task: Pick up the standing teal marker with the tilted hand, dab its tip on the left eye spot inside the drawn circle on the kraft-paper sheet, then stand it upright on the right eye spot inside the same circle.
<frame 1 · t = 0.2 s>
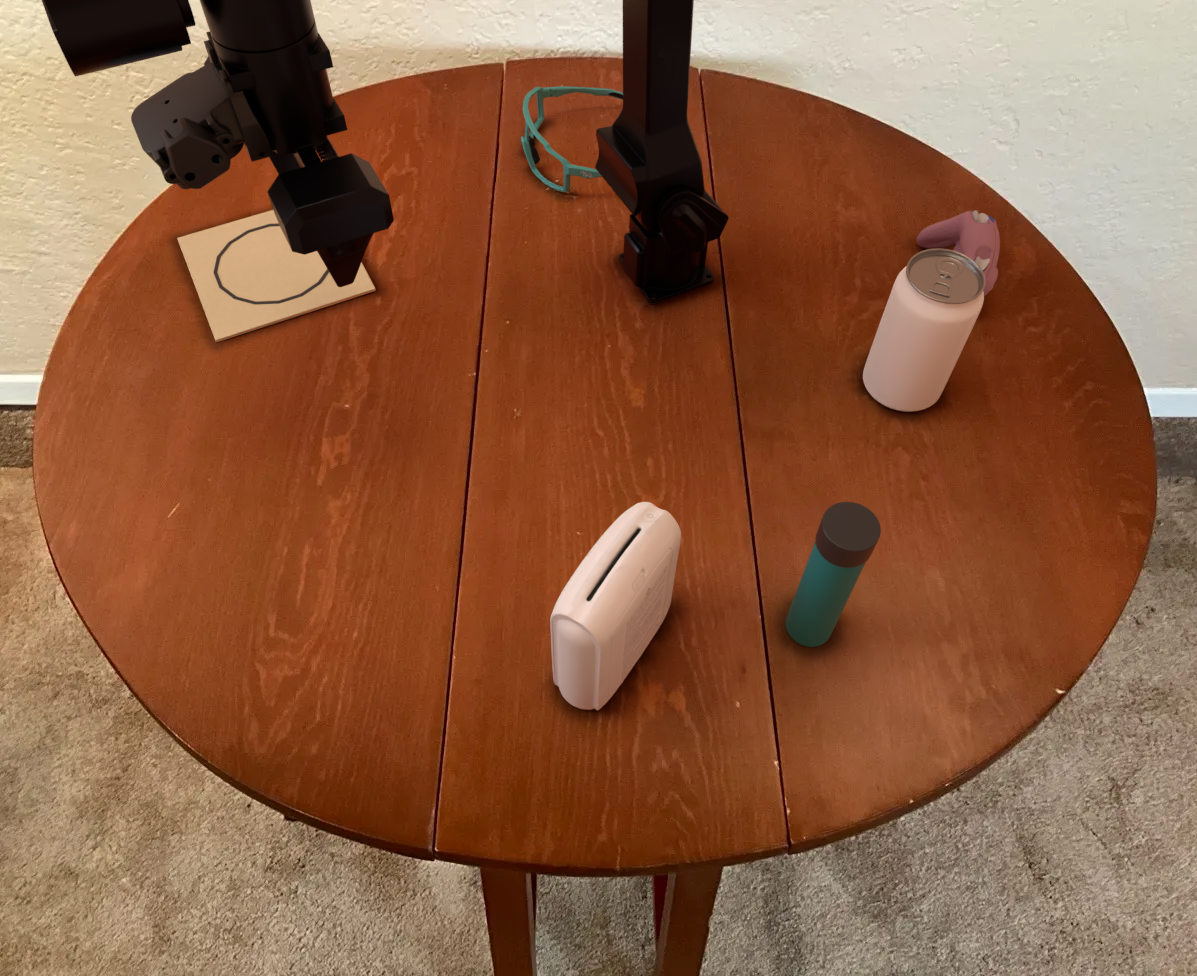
hand: (323, 242, 67), 15 cm above the table, tool pointing down, fingers open, 9 cm apart
marker: (808, 625, 67), on the table
sunglasses: (595, 153, 96), on the table
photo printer: (613, 647, 66), on the table
video game controller: (946, 283, 86), on the table
can: (900, 385, 79), on the table
sketch sheet: (275, 265, 86), on the table
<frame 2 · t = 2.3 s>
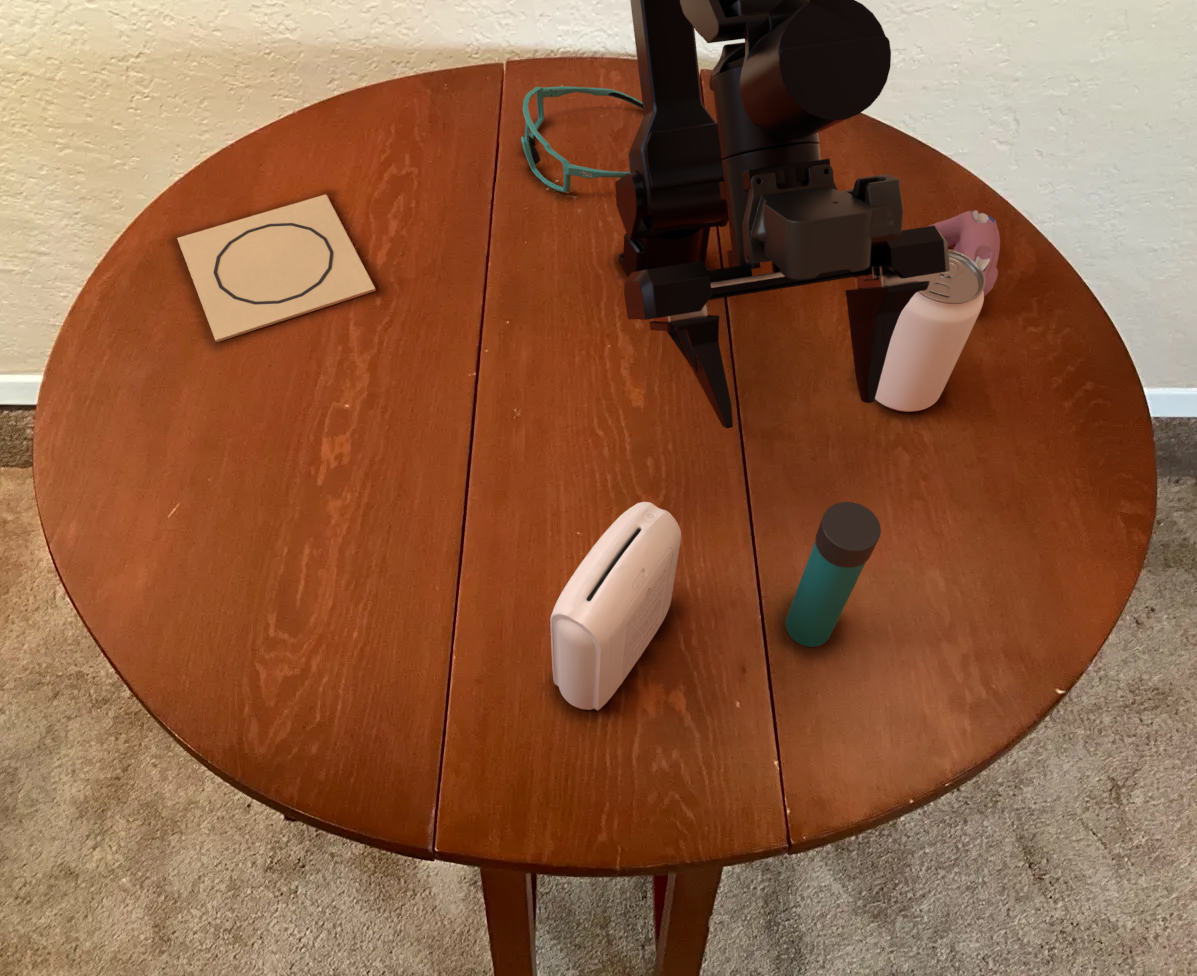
hand: (798, 414, 60), 13 cm above the table, tool tilted 45°, fingers open, 9 cm apart
nothing on the table moved.
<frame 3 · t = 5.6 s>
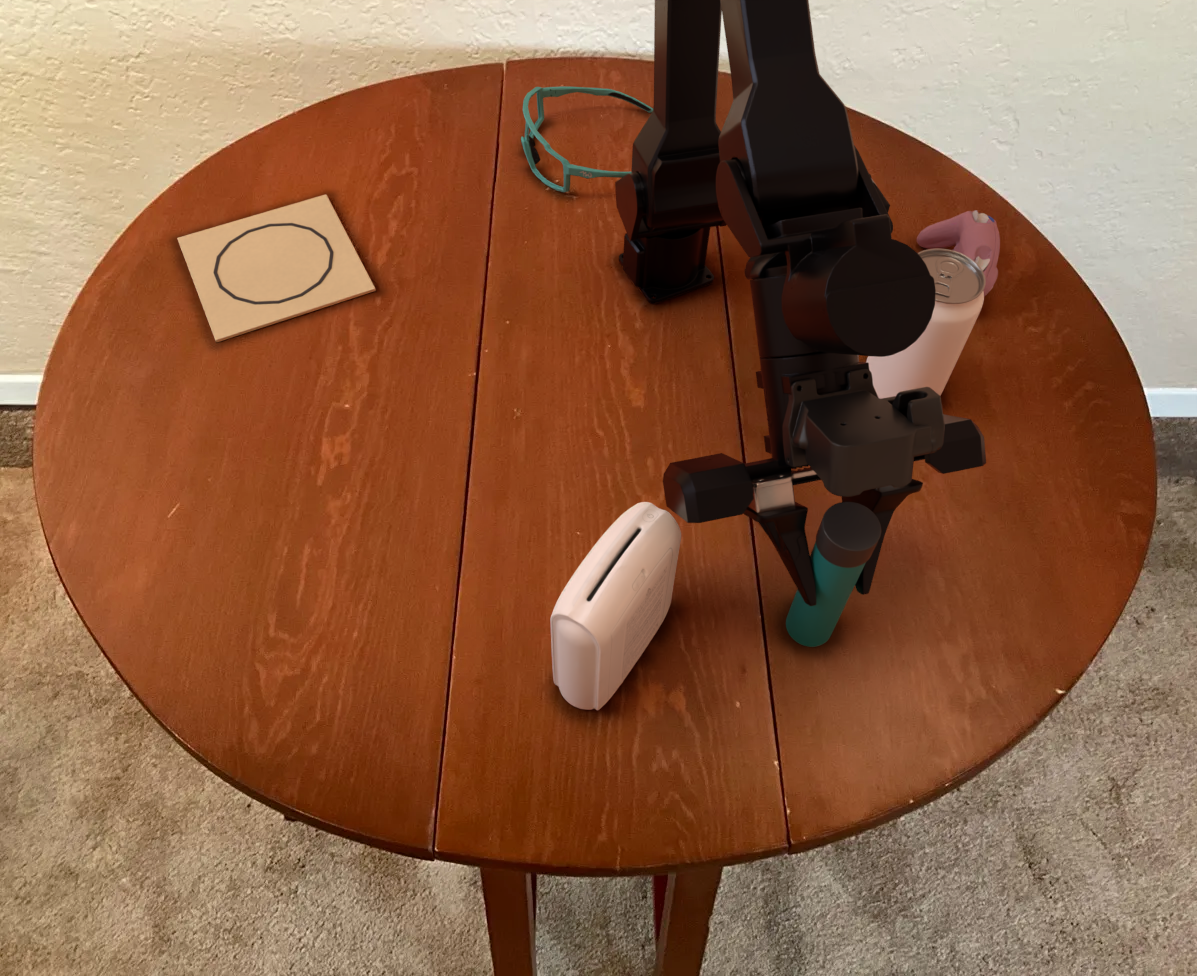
hand: (836, 598, 60), 7 cm above the table, tool tilted 45°, fingers closed on marker, 3 cm apart
marker: (808, 625, 67), on the table, touching gripper
everything else where it was.
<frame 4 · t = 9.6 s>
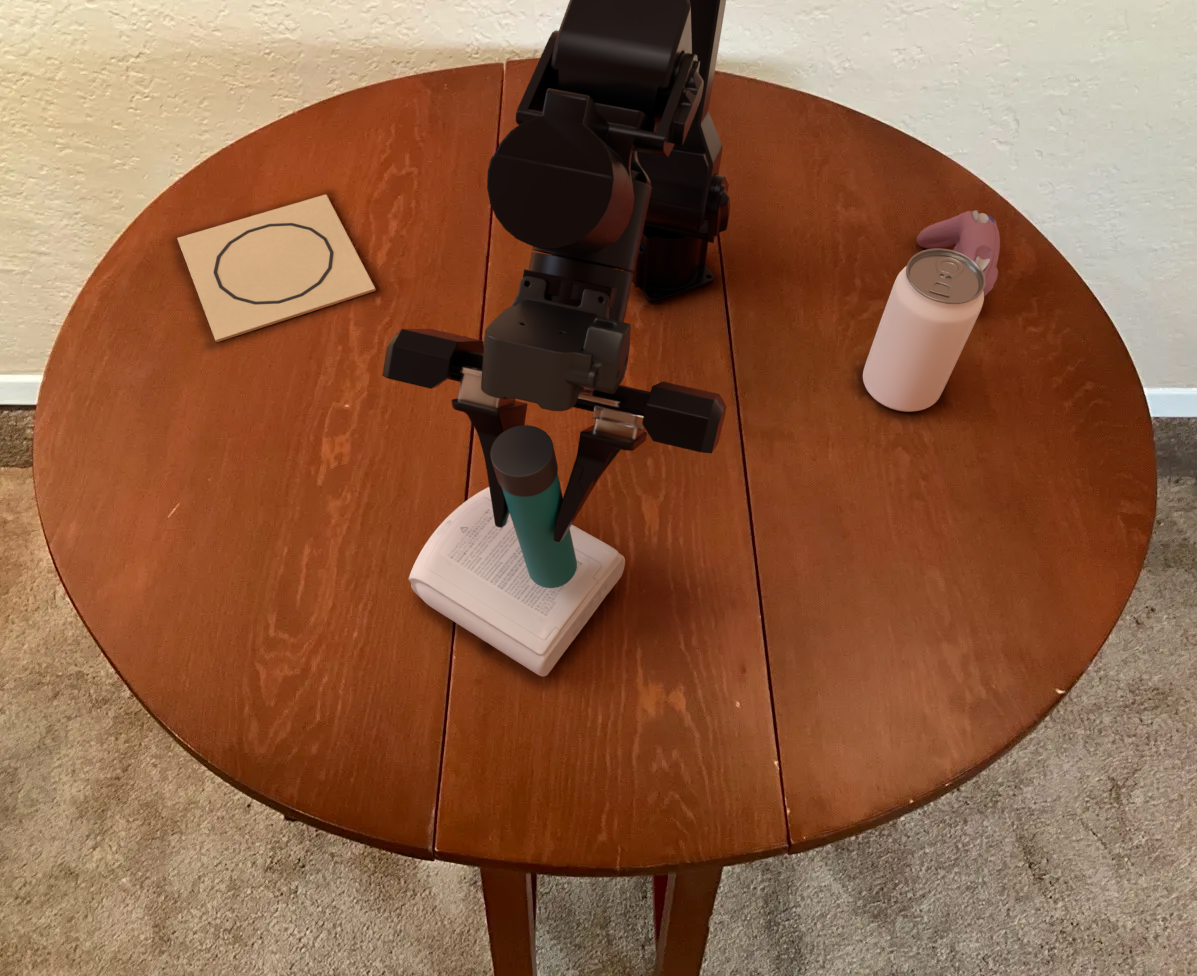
hand: (528, 533, 56), 13 cm above the table, tool tilted 45°, fingers closed on marker, 3 cm apart
marker: (552, 566, 62), point 6 cm above the table, tilted 6°, touching gripper
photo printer: (589, 617, 64), point 2 cm above the table
everything else where it was.
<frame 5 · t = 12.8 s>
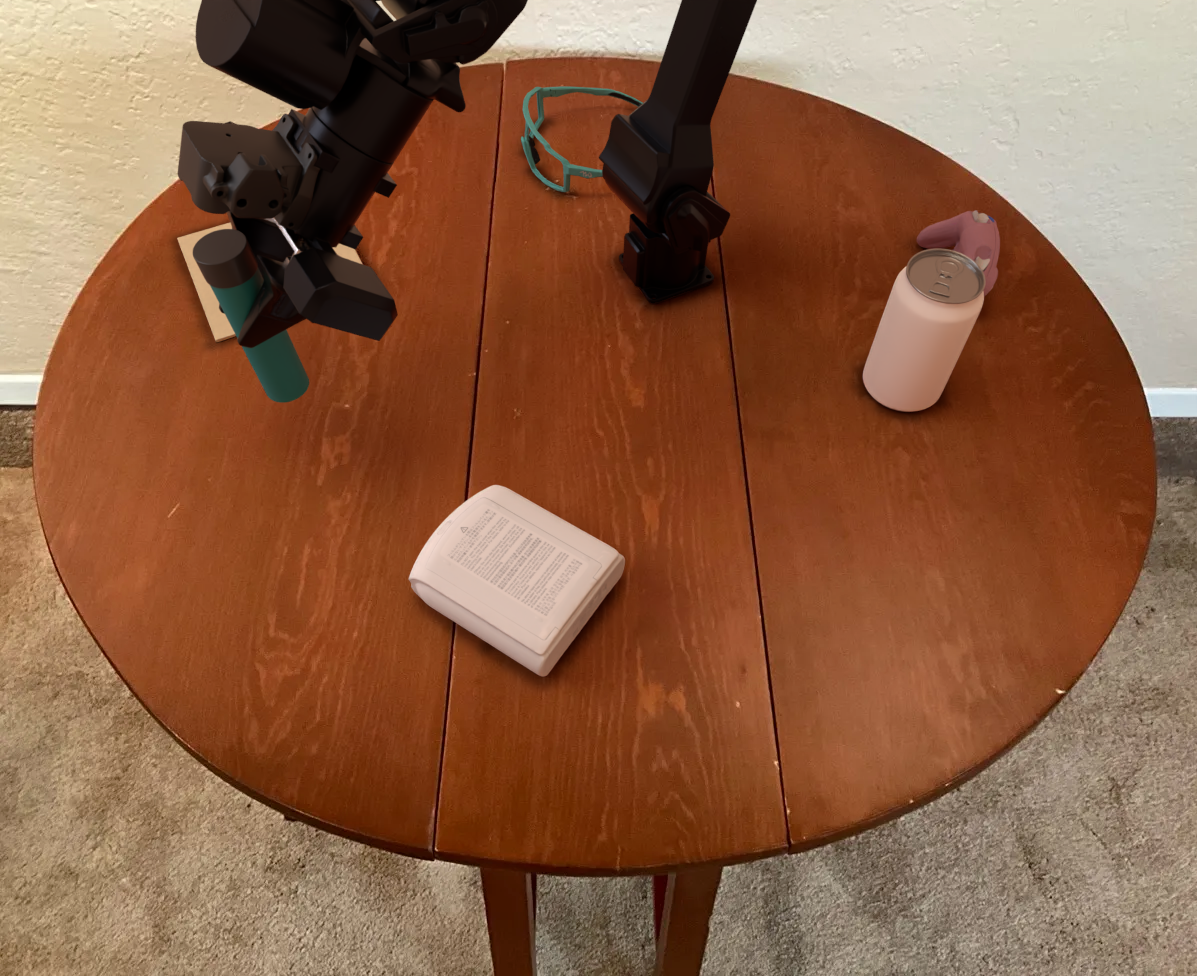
hand: (234, 328, 65), 12 cm above the table, tool tilted 45°, fingers closed on marker, 3 cm apart
marker: (287, 386, 71), point 6 cm above the table, touching gripper
everything else where it was.
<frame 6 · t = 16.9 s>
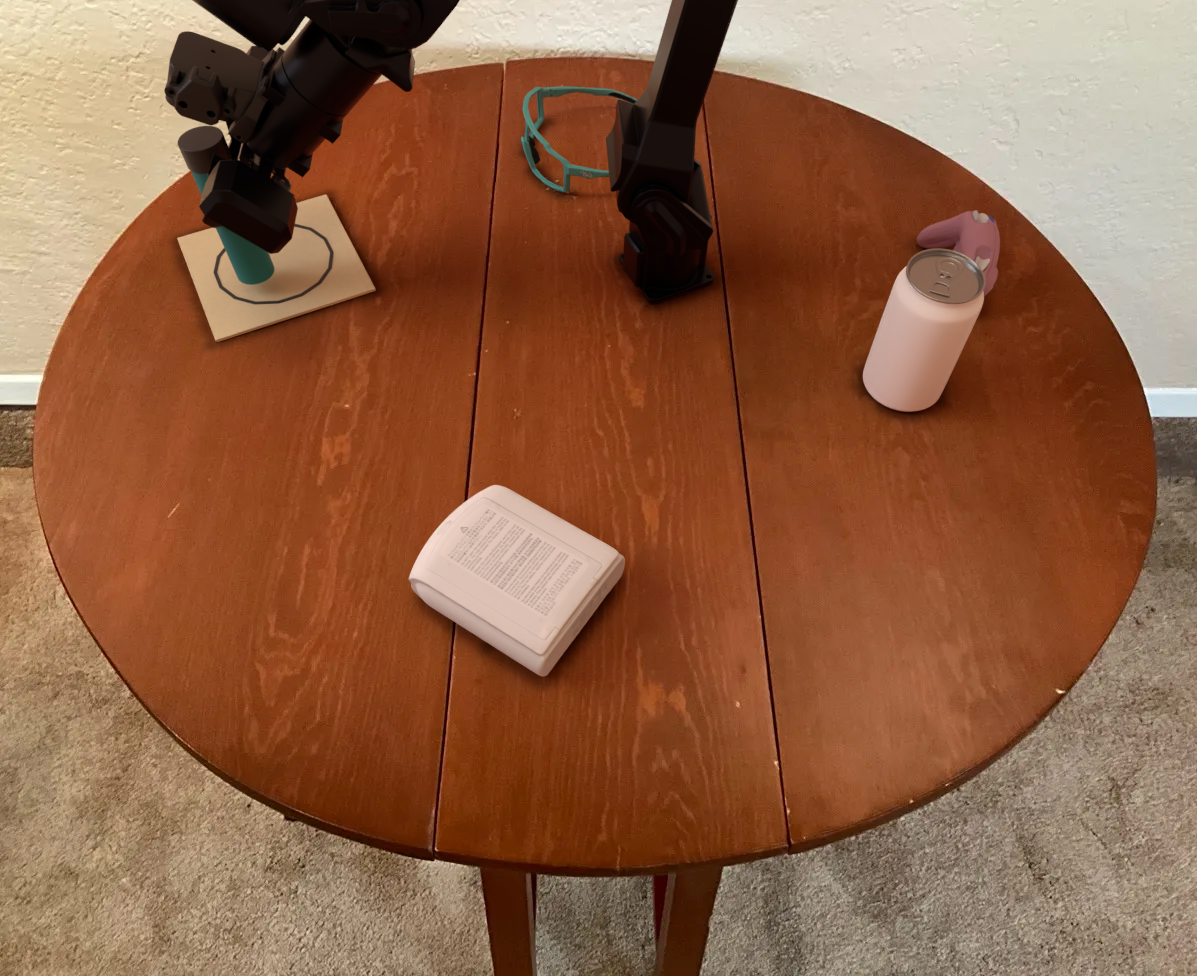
hand: (211, 209, 78), 8 cm above the table, tool tilted 45°, fingers closed on marker, 3 cm apart
marker: (256, 272, 83), point 2 cm above the table, touching gripper
everything else where it was.
when the fingers open (7 cm above the table, at t = 20.0 s): marker stays where it is, resting on sketch sheet.
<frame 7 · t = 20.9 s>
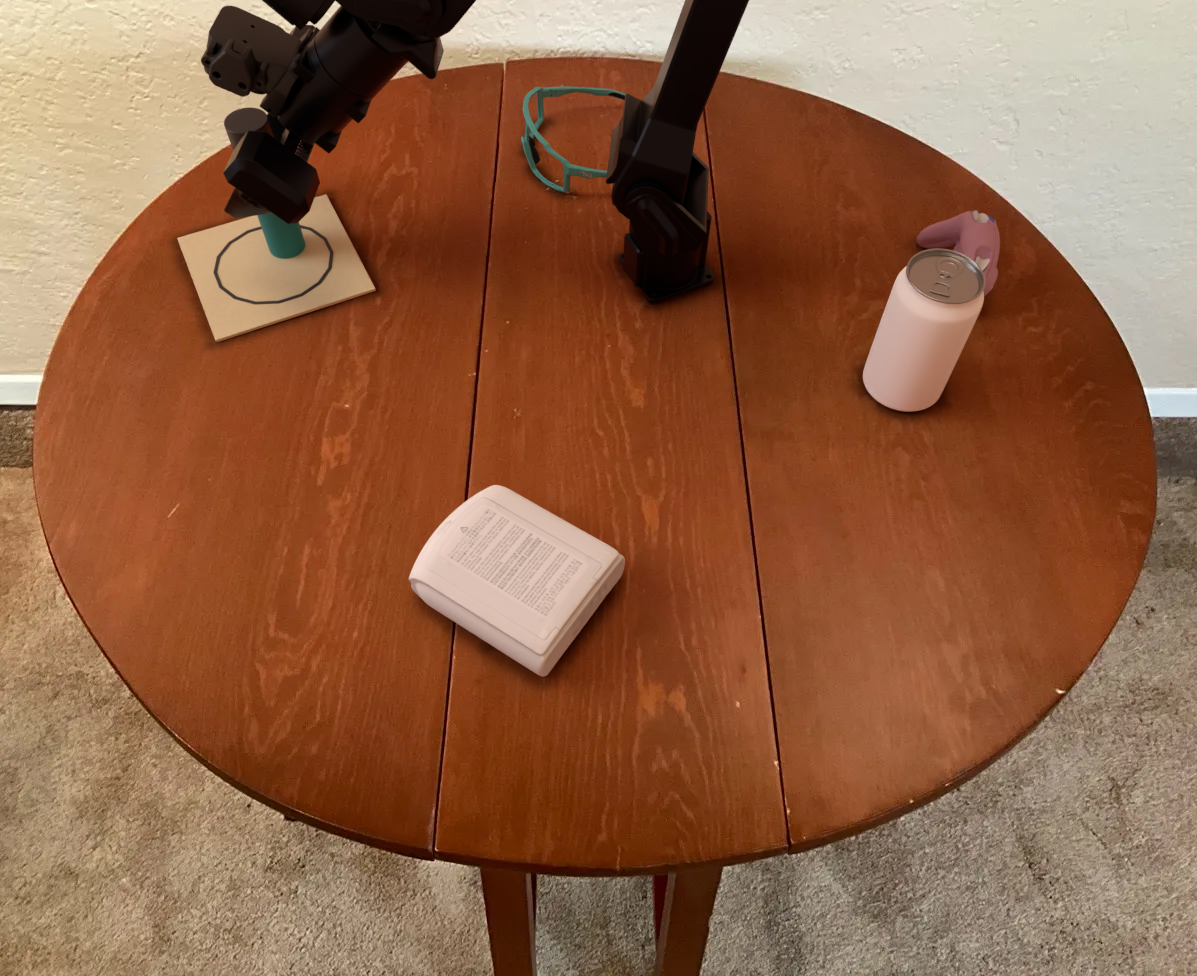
hand: (245, 177, 81), 7 cm above the table, tool tilted 45°, fingers open, 9 cm apart
marker: (287, 246, 87), resting on sketch sheet
everything else where it was.
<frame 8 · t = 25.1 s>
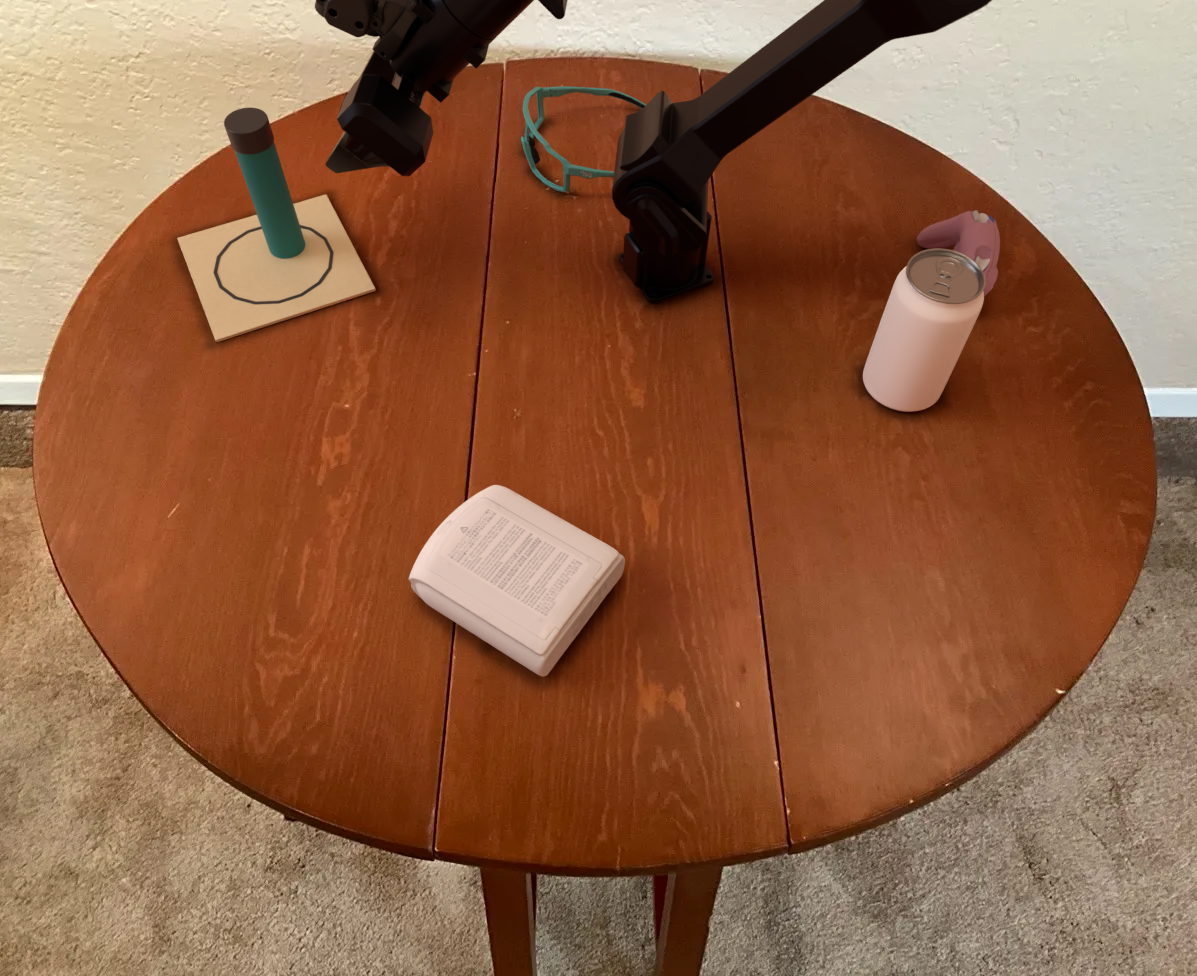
hand: (344, 131, 77), 13 cm above the table, tool tilted 45°, fingers open, 9 cm apart
nothing on the table moved.
at the end: marker 0.5 cm from the target spot on the sketch sheet, point 0.3 cm above the sketch sheet's base; marker tilted 0°; the gripper is holding nothing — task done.
